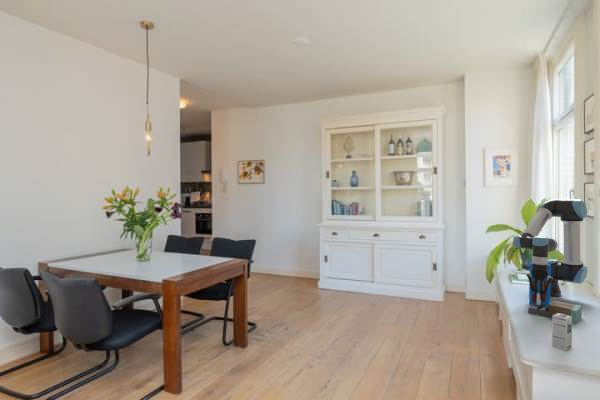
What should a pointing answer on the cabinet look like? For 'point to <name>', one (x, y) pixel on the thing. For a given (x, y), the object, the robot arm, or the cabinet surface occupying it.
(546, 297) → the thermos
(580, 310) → the stop block
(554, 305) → the slab
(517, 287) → the cabinet surface
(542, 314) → the roller bed
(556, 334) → the syrup box
